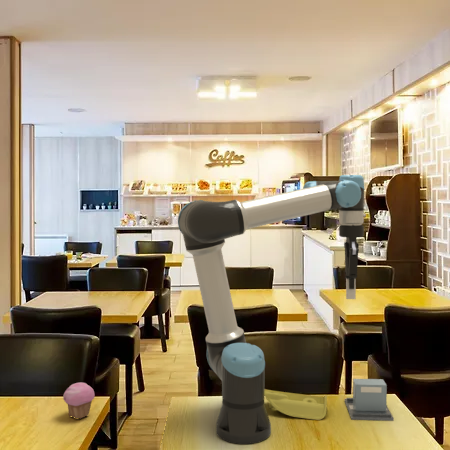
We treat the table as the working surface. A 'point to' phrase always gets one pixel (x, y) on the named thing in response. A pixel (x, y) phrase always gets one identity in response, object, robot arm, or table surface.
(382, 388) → the block
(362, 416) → the rail mount
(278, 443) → the table surface
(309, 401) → the plastic component
